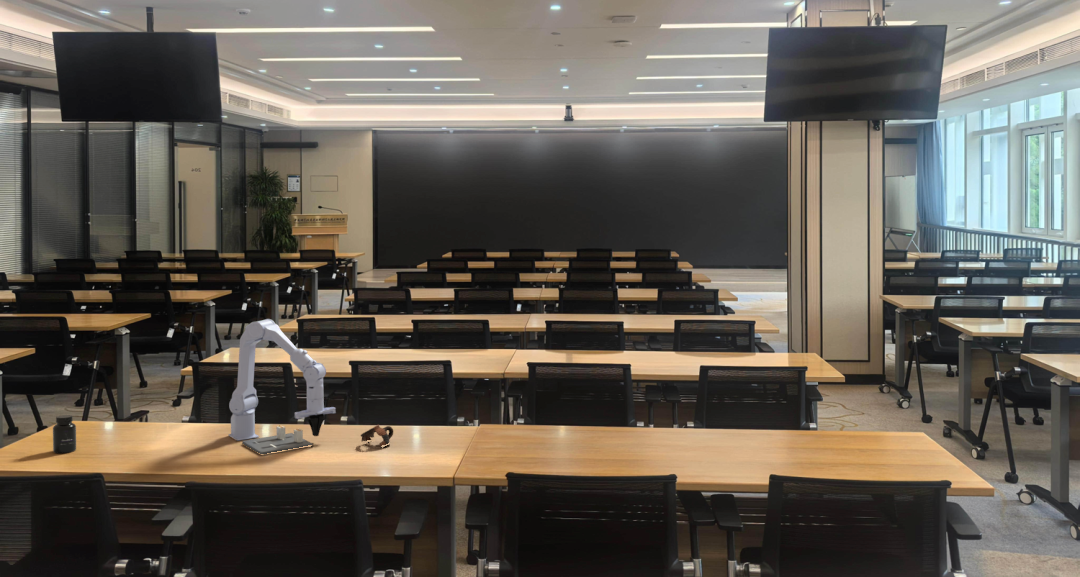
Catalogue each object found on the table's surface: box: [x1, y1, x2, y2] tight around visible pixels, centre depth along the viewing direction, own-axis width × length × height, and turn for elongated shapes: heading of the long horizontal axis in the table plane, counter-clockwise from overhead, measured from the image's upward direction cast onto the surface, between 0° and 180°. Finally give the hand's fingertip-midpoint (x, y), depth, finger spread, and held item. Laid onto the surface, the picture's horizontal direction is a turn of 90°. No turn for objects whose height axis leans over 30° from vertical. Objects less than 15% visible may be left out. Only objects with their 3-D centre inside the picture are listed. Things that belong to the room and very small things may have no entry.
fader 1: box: [276, 425, 286, 439], centre depth 291 cm, size 3×2×4 cm, turn 40°
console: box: [241, 432, 313, 454], centre depth 286 cm, size 18×18×1 cm
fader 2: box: [293, 428, 304, 443], centre depth 287 cm, size 3×2×4 cm, turn 40°
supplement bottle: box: [52, 414, 77, 455], centre depth 277 cm, size 7×7×12 cm
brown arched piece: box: [360, 424, 394, 447], centre depth 289 cm, size 12×10×8 cm
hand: (315, 435), depth 291 cm, fingers closed
